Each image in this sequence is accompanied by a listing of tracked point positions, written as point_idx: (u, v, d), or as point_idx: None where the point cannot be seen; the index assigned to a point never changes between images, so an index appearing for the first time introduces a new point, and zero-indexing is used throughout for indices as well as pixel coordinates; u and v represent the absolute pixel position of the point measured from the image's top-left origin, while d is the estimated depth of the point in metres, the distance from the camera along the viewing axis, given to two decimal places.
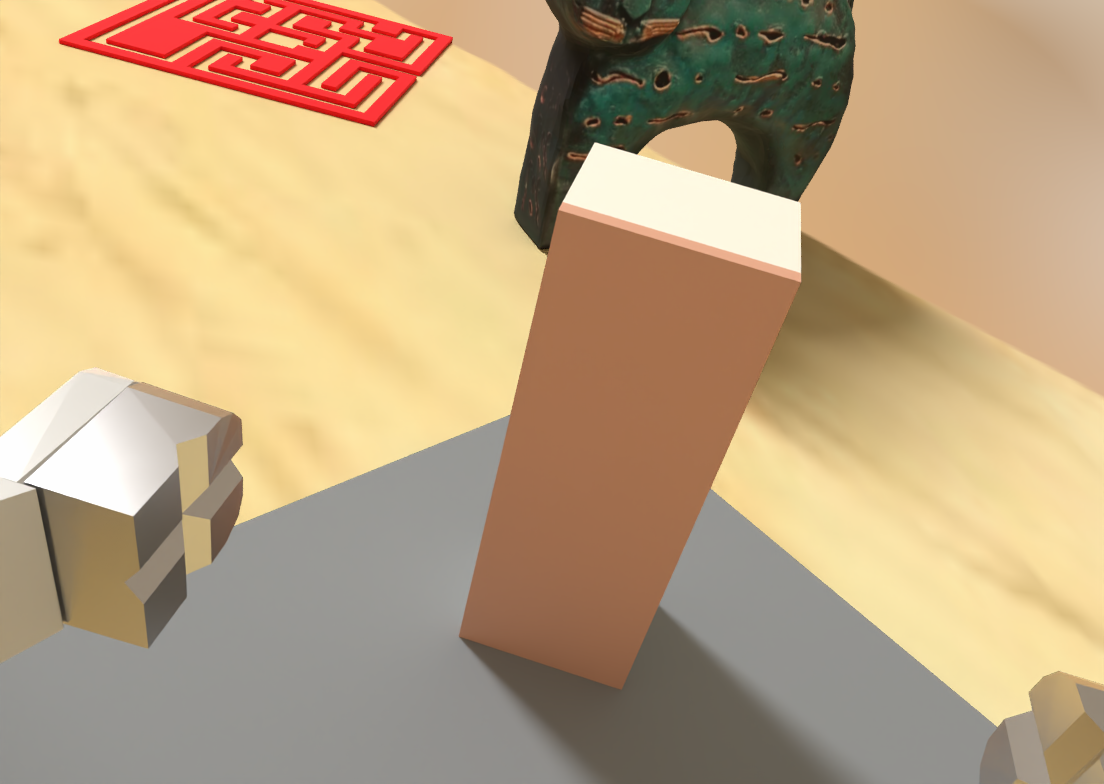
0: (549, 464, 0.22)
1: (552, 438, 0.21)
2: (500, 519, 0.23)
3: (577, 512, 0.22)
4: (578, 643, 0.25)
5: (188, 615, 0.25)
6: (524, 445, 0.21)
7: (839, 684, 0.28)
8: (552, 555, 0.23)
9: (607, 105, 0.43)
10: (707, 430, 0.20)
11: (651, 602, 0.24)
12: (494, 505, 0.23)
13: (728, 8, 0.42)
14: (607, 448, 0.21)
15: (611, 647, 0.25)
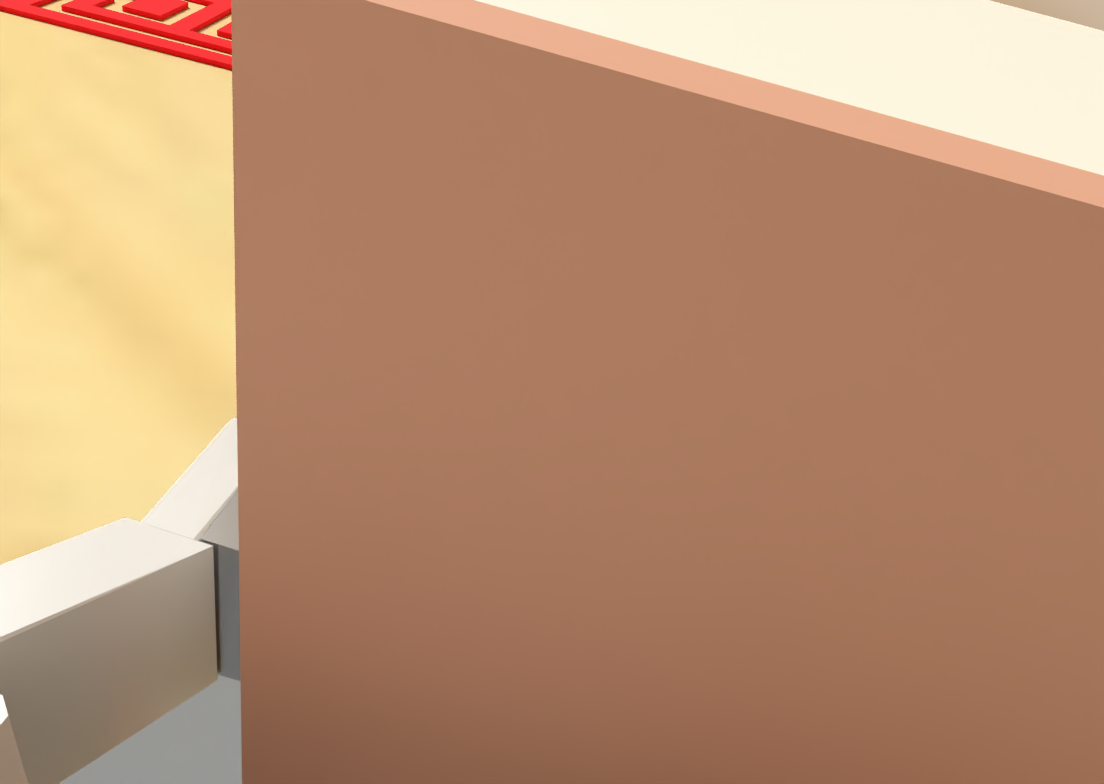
0: None
1: None
2: None
3: None
4: None
5: None
6: None
7: None
8: None
9: None
10: None
11: None
12: None
13: None
14: None
15: None
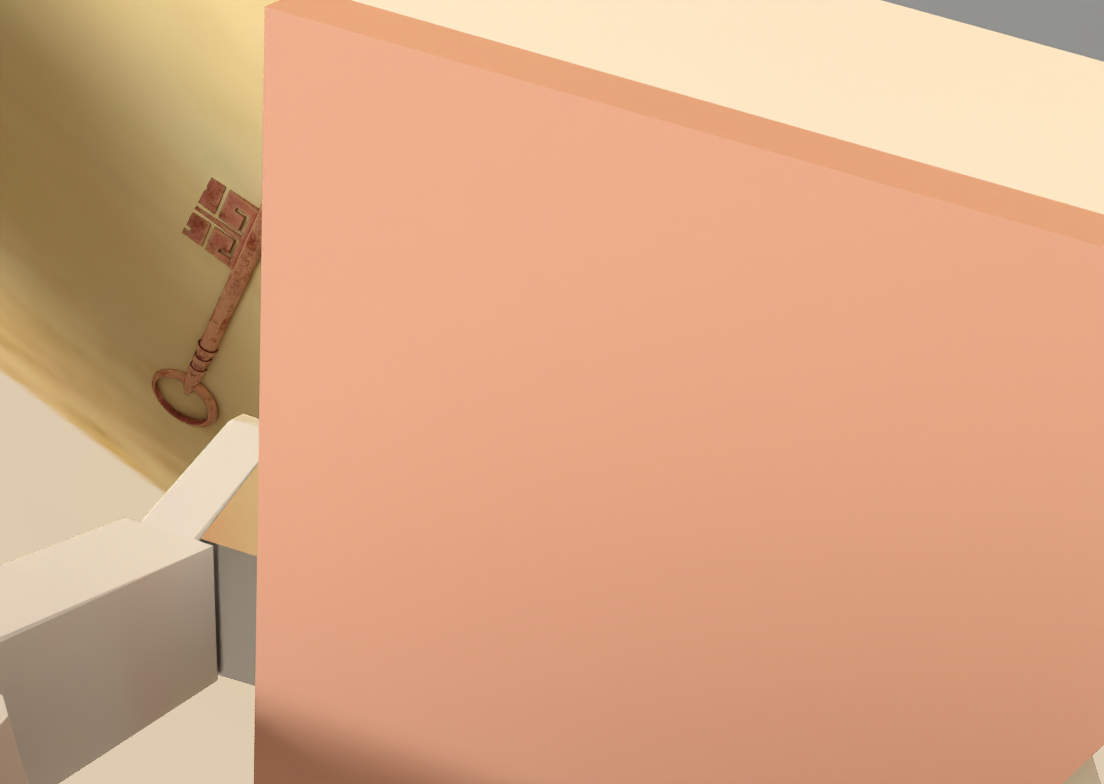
0: None
1: None
2: None
3: None
4: None
5: None
6: None
7: (1058, 10, 0.28)
8: None
9: None
10: None
11: None
12: None
13: None
14: None
15: None
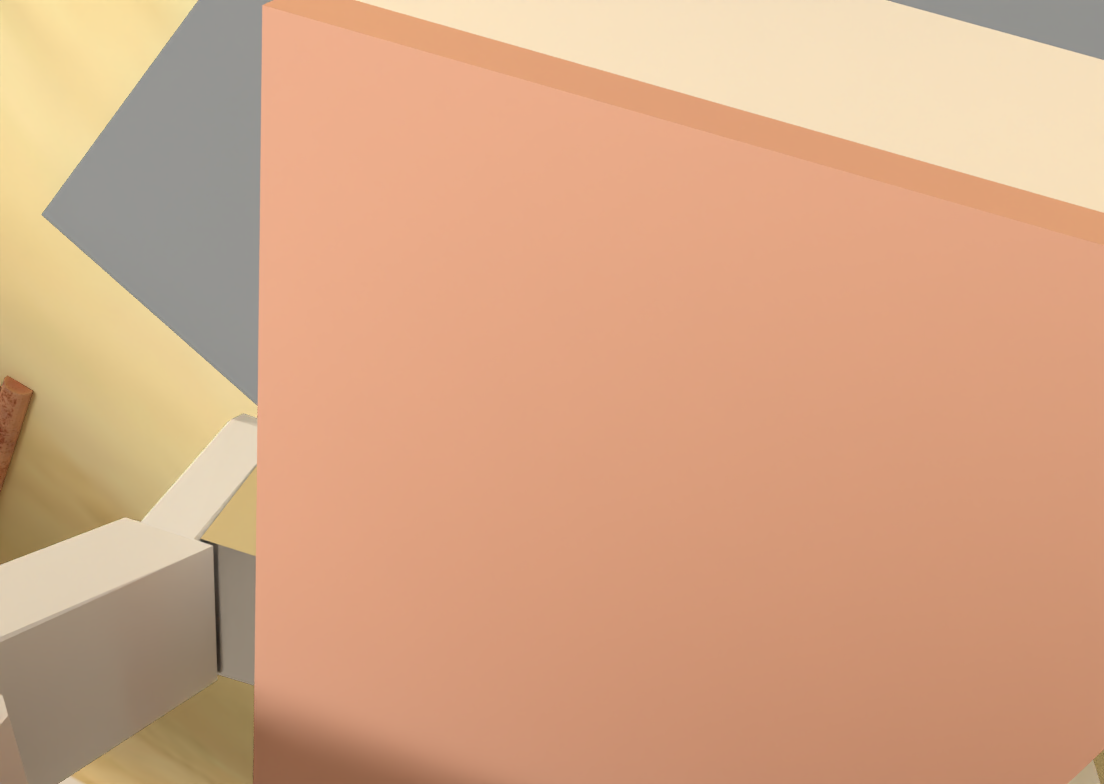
0: None
1: None
2: None
3: None
4: None
5: (246, 138, 0.20)
6: None
7: None
8: None
9: None
10: None
11: None
12: None
13: None
14: None
15: None
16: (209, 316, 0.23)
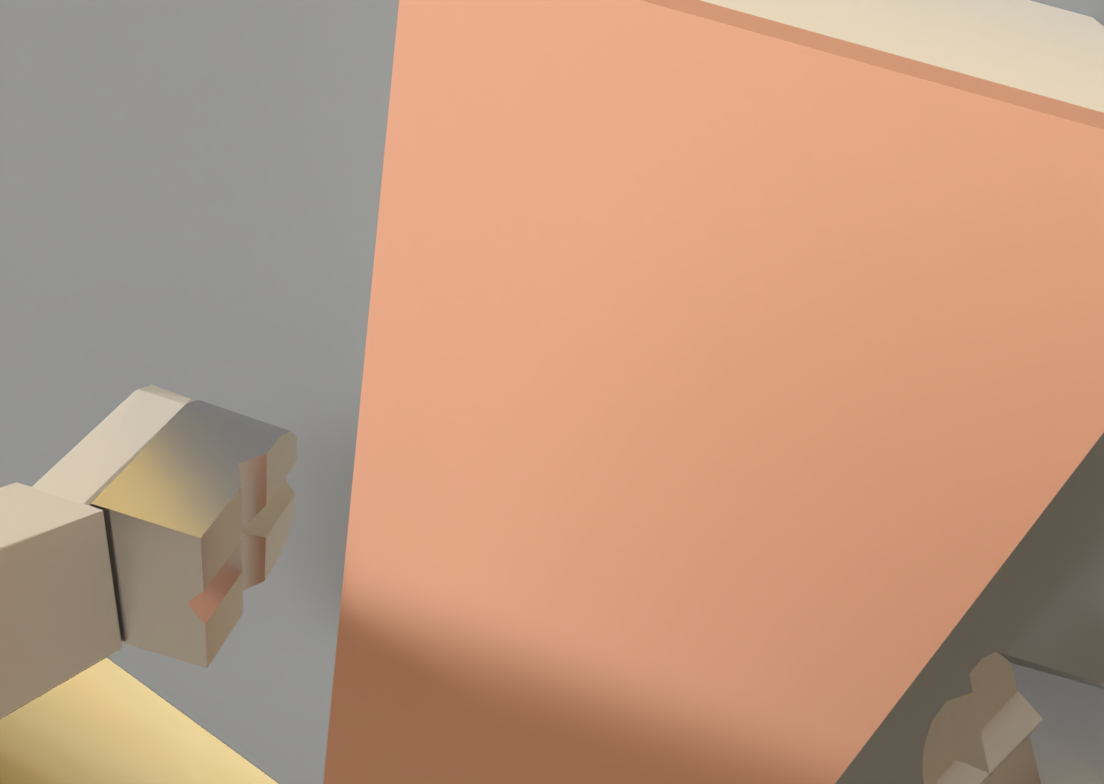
0: (451, 678, 0.09)
1: (453, 624, 0.08)
2: (355, 772, 0.10)
3: (524, 774, 0.10)
4: None
5: (2, 317, 0.13)
6: (387, 635, 0.09)
7: None
8: None
9: None
10: (866, 629, 0.07)
11: None
12: (338, 746, 0.10)
13: None
14: (592, 653, 0.08)
15: None
16: None
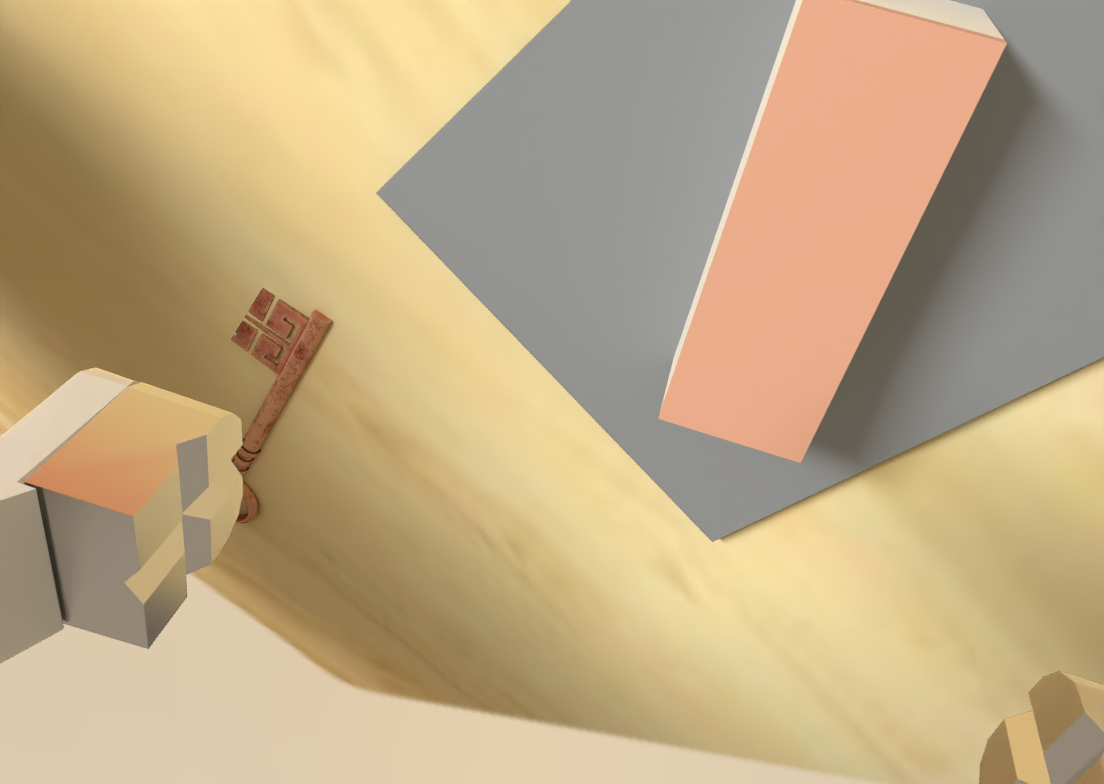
0: (766, 235, 0.26)
1: (772, 209, 0.25)
2: (714, 294, 0.27)
3: (784, 281, 0.27)
4: (767, 416, 0.29)
5: (532, 142, 0.30)
6: (746, 218, 0.26)
7: None
8: (756, 327, 0.28)
9: None
10: (910, 191, 0.24)
11: (839, 368, 0.28)
12: (710, 280, 0.27)
13: None
14: (819, 215, 0.25)
15: (797, 418, 0.29)
16: (482, 262, 0.33)
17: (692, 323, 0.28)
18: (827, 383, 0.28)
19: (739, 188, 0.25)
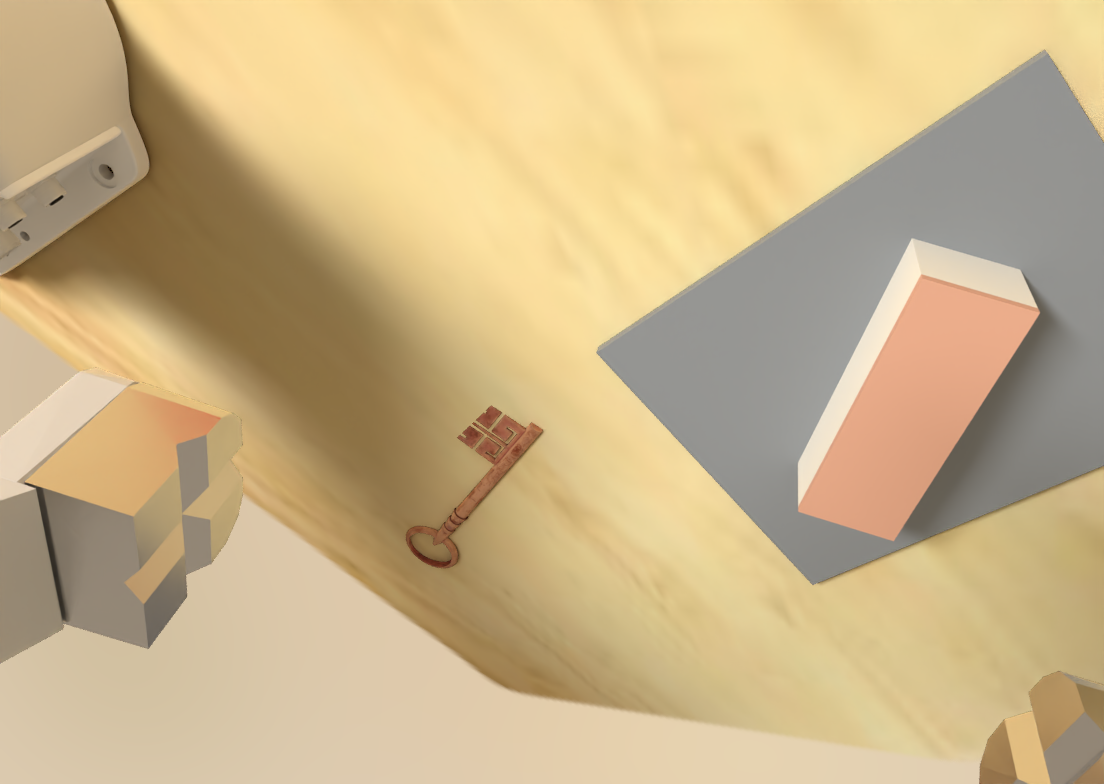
0: (883, 406, 0.41)
1: (889, 392, 0.40)
2: (845, 438, 0.42)
3: (893, 433, 0.42)
4: (874, 512, 0.44)
5: (714, 327, 0.45)
6: (871, 396, 0.41)
7: None
8: (871, 458, 0.43)
9: None
10: (977, 386, 0.39)
11: (924, 484, 0.43)
12: (844, 430, 0.42)
13: None
14: (919, 397, 0.40)
15: (893, 514, 0.44)
16: (667, 398, 0.48)
17: (829, 454, 0.43)
18: (916, 493, 0.43)
19: (869, 379, 0.40)
